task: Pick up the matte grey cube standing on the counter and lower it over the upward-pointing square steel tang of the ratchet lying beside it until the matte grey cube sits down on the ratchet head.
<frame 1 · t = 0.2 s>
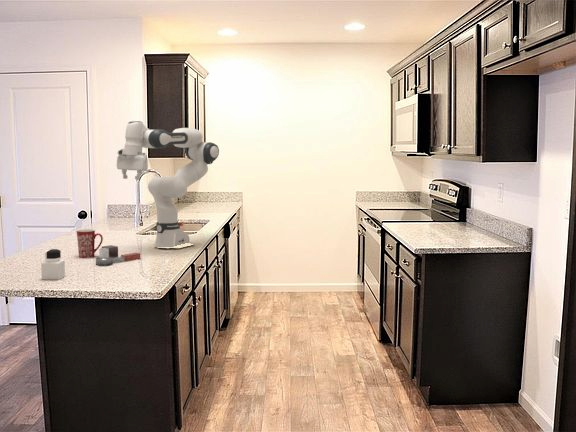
hand: (131, 179, 288), 39 cm above the counter, tool pointing down, fingers open, 8 cm apart
matte grey cube: (109, 258, 277), on the counter
medicine bottle: (53, 278, 235), on the counter
mug: (90, 257, 281), on the counter
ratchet: (104, 264, 263), on the counter
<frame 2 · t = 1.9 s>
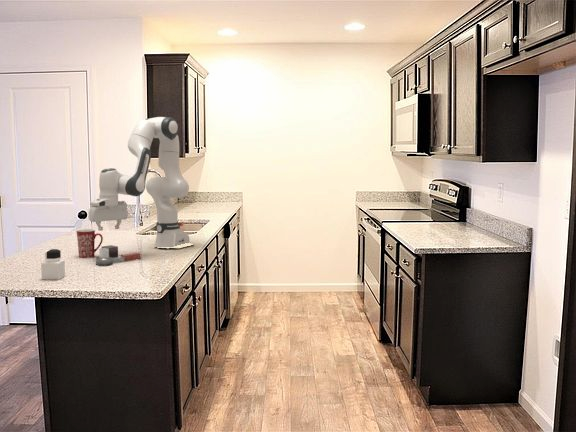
hand: (108, 229, 275), 14 cm above the counter, tool pointing down, fingers open, 8 cm apart
nothing on the counter moved.
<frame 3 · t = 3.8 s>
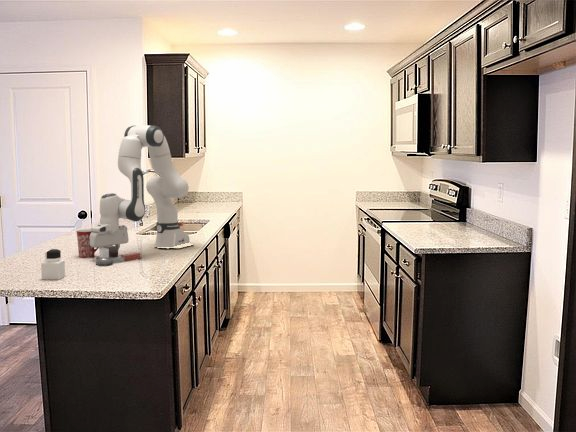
hand: (109, 254, 277), 2 cm above the counter, tool pointing down, fingers closed on matte grey cube, 6 cm apart
matte grey cube: (109, 258, 277), on the counter, touching gripper
everything else where it was.
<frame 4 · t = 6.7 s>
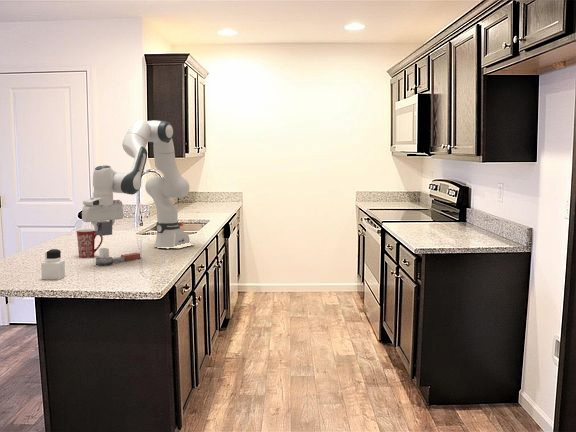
hand: (103, 230, 261), 16 cm above the counter, tool pointing down, fingers closed on matte grey cube, 6 cm apart
matte grey cube: (103, 234, 261), point 14 cm above the counter, touching gripper
everything else where it was.
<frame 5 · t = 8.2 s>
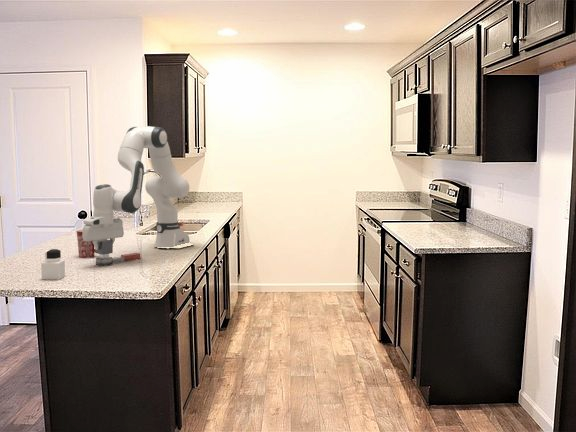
hand: (103, 248, 262), 8 cm above the counter, tool pointing down, fingers closed on matte grey cube, 6 cm apart
matte grey cube: (104, 253, 263), point 5 cm above the counter, touching gripper
everything else where it was.
when the fingers open (6 cm above the counter, at t = 9.5 s): matte grey cube stays where it is, resting on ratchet.
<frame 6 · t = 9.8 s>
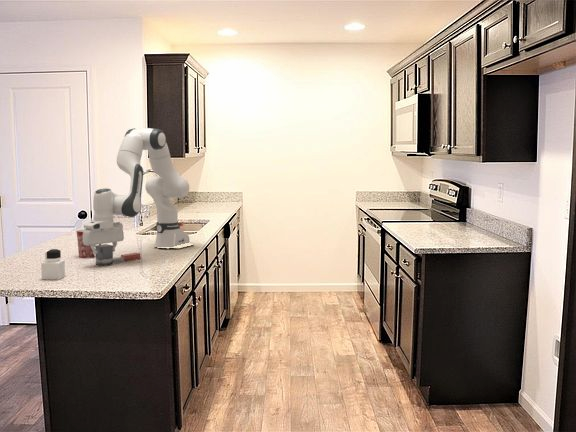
hand: (104, 252, 263), 6 cm above the counter, tool pointing down, fingers open, 8 cm apart
matte grey cube: (104, 258, 263), point 3 cm above the counter, touching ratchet
everything else where it was.
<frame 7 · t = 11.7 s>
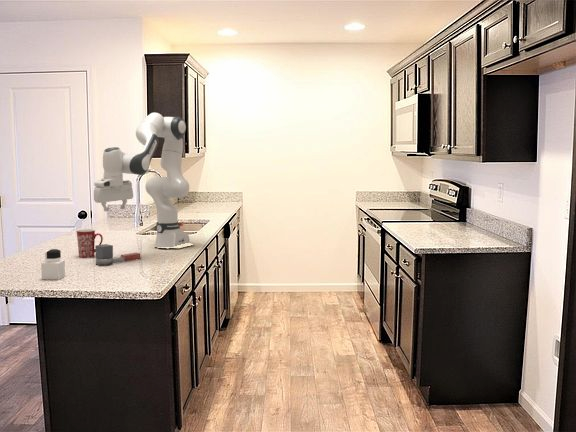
hand: (114, 210, 270), 25 cm above the counter, tool pointing down, fingers open, 8 cm apart
nothing on the counter moved.
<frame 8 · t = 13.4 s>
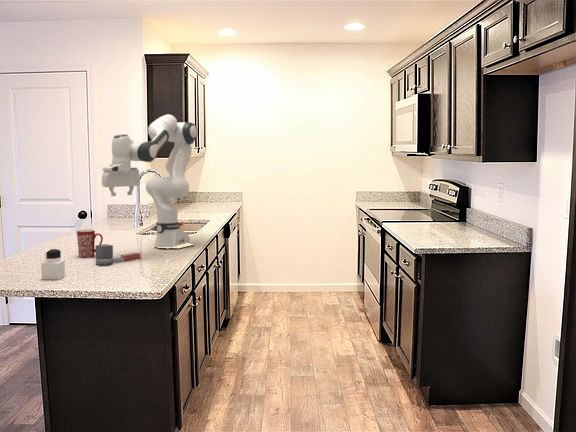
hand: (121, 195, 277), 31 cm above the counter, tool pointing down, fingers open, 8 cm apart
nothing on the counter moved.
at the end: matte grey cube point 3.0 cm above the counter; matte grey cube 0.1 cm from the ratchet (horizontally); the gripper is holding nothing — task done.
